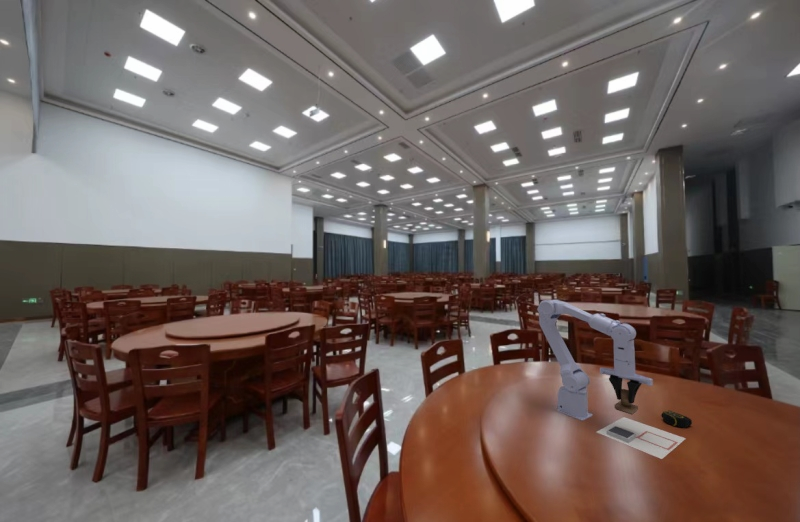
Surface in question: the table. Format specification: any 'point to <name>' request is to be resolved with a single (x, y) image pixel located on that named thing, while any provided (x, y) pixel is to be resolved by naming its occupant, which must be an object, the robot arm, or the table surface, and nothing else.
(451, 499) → the table surface
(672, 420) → the tape measure
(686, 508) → the table surface
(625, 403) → the stamp
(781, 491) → the table surface
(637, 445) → the stamping mat
